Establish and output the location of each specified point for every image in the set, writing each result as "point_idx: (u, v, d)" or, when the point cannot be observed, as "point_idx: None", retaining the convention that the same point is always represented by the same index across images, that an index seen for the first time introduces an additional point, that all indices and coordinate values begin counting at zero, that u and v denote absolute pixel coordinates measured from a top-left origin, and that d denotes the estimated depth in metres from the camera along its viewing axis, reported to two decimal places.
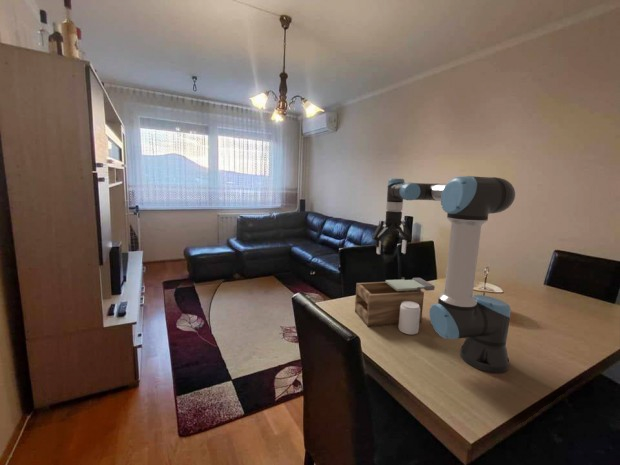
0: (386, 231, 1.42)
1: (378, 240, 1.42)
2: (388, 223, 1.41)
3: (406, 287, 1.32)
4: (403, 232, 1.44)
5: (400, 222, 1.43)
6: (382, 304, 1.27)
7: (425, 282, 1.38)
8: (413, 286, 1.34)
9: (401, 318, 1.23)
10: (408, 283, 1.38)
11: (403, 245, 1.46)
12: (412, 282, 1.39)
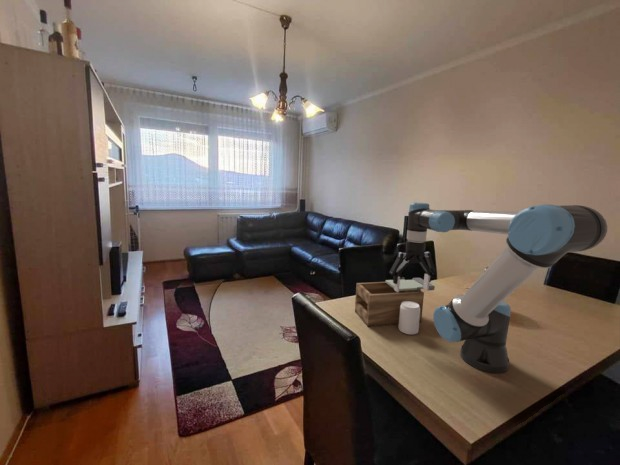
0: (406, 265, 1.19)
1: (397, 276, 1.19)
2: (409, 256, 1.18)
3: (406, 287, 1.32)
4: (426, 266, 1.21)
5: (423, 254, 1.20)
6: (382, 304, 1.27)
7: None
8: (413, 286, 1.34)
9: (401, 318, 1.23)
10: (408, 283, 1.38)
11: (426, 280, 1.23)
12: (412, 282, 1.39)
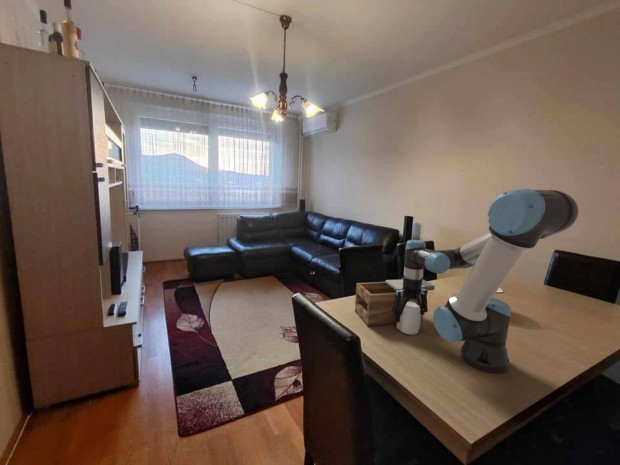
0: (406, 302, 1.21)
1: (399, 315, 1.22)
2: (406, 292, 1.21)
3: None
4: (420, 303, 1.23)
5: (420, 290, 1.22)
6: (382, 304, 1.27)
7: (425, 282, 1.38)
8: None
9: None
10: None
11: None
12: None
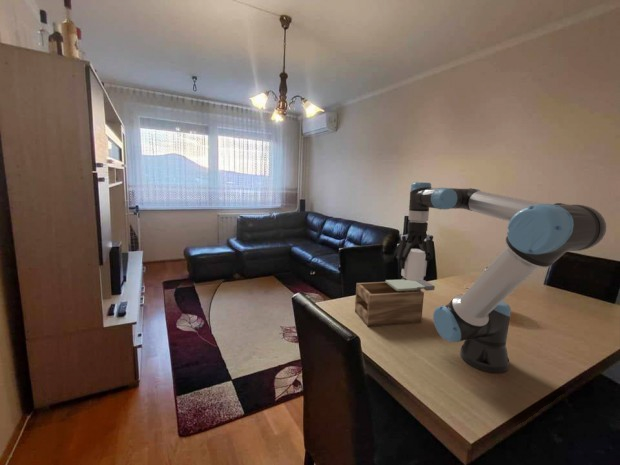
0: (411, 247, 1.17)
1: (404, 260, 1.18)
2: (411, 236, 1.17)
3: (406, 287, 1.32)
4: (425, 249, 1.19)
5: (425, 235, 1.18)
6: (382, 304, 1.27)
7: (425, 282, 1.38)
8: (413, 286, 1.34)
9: None
10: (408, 283, 1.38)
11: None
12: (412, 282, 1.39)
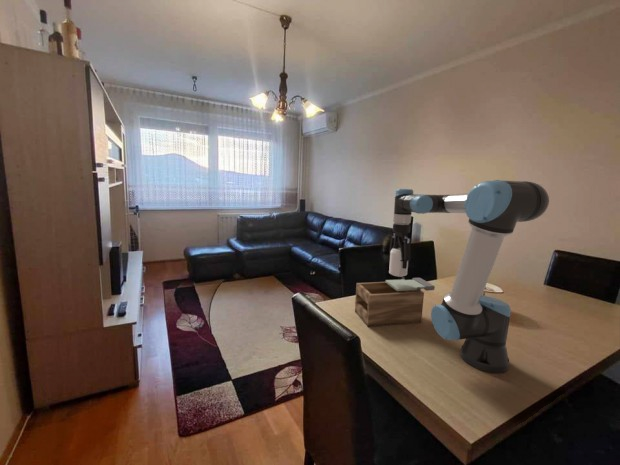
0: (394, 245, 1.36)
1: None
2: (395, 235, 1.35)
3: (406, 287, 1.32)
4: (401, 250, 1.30)
5: (402, 237, 1.29)
6: (382, 304, 1.27)
7: (425, 282, 1.38)
8: (413, 286, 1.34)
9: None
10: (408, 283, 1.38)
11: None
12: (412, 282, 1.39)
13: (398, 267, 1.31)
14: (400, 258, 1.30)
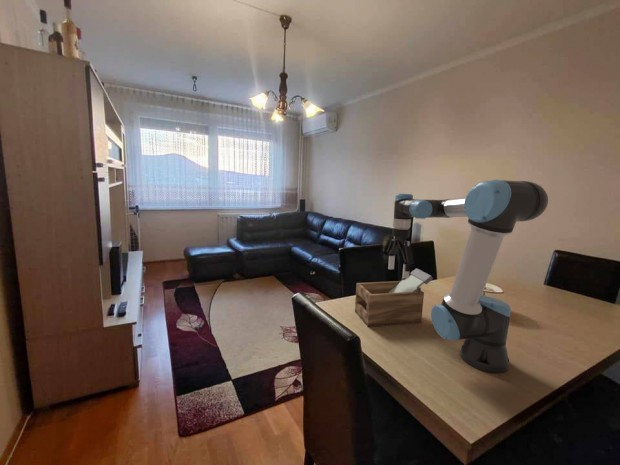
0: (393, 247, 1.37)
1: (388, 254, 1.42)
2: (394, 240, 1.36)
3: None
4: (403, 253, 1.29)
5: (402, 241, 1.30)
6: (382, 304, 1.27)
7: (422, 274, 1.37)
8: (413, 287, 1.34)
9: None
10: (408, 285, 1.38)
11: None
12: (411, 280, 1.39)
13: None
14: None
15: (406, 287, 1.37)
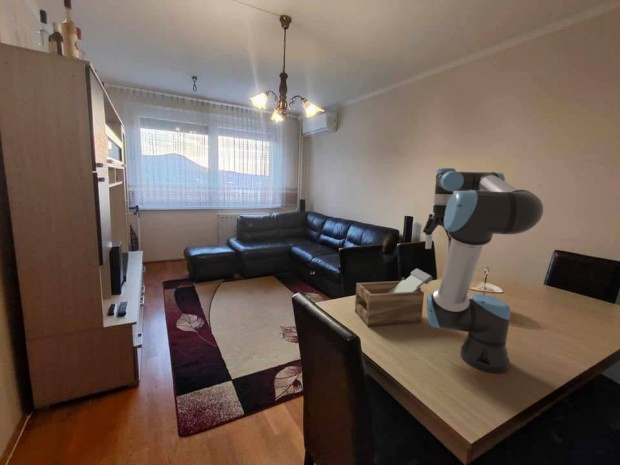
0: (432, 225, 1.33)
1: (426, 233, 1.37)
2: (434, 217, 1.31)
3: None
4: (446, 230, 1.24)
5: None
6: (382, 304, 1.27)
7: (422, 274, 1.37)
8: (413, 287, 1.34)
9: None
10: (408, 285, 1.38)
11: None
12: (411, 280, 1.39)
13: None
14: None
15: (406, 287, 1.37)
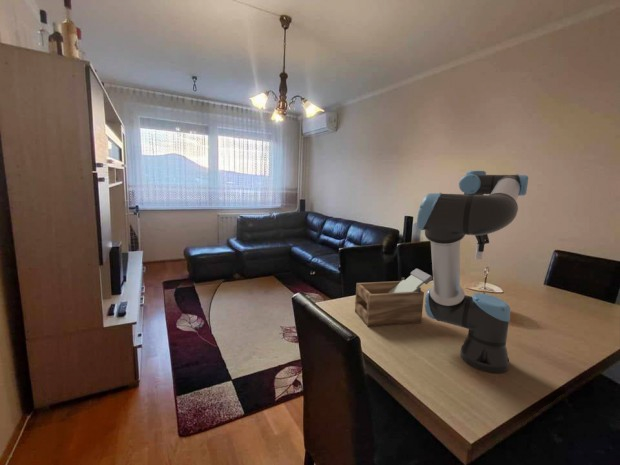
0: None
1: None
2: None
3: None
4: None
5: None
6: (382, 304, 1.27)
7: (422, 274, 1.37)
8: (413, 287, 1.34)
9: None
10: (408, 285, 1.38)
11: None
12: (411, 280, 1.39)
13: None
14: None
15: (406, 287, 1.37)
